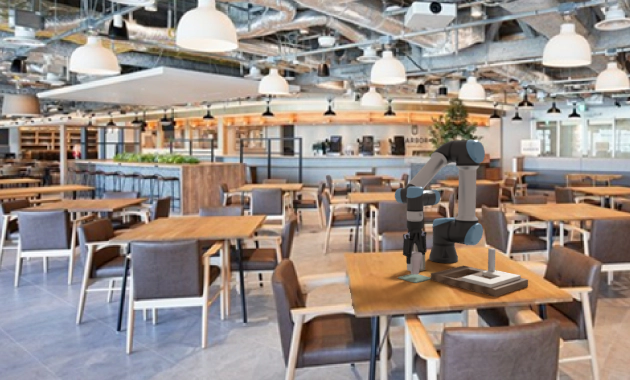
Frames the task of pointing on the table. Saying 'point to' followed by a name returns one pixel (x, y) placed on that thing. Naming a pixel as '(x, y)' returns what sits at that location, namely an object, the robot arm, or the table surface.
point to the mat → (414, 278)
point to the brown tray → (451, 274)
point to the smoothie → (416, 261)
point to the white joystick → (492, 274)
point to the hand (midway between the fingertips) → (414, 269)
